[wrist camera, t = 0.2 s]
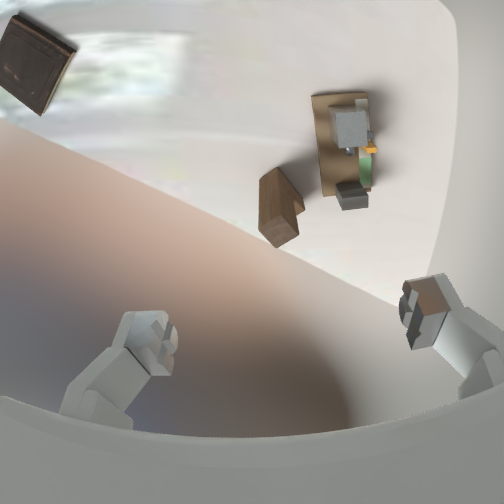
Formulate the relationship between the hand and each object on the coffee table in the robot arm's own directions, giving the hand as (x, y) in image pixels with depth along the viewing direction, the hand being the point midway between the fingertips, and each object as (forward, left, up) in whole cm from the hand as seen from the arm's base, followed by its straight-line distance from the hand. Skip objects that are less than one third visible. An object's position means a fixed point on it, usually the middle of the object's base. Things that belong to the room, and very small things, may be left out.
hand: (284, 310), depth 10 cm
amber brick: (+11, +17, -45) cm, 49 cm away
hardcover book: (-25, -46, -48) cm, 71 cm away
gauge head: (+7, +14, -46) cm, 48 cm away
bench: (+11, +13, -47) cm, 50 cm away
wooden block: (+19, 0, -48) cm, 51 cm away
